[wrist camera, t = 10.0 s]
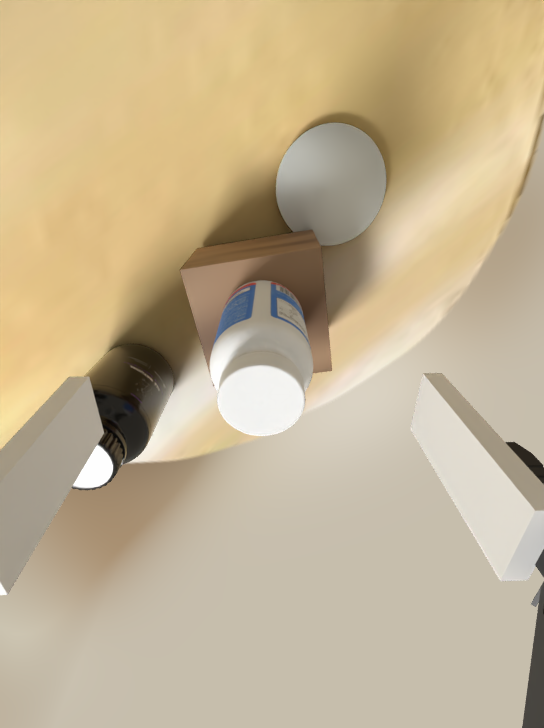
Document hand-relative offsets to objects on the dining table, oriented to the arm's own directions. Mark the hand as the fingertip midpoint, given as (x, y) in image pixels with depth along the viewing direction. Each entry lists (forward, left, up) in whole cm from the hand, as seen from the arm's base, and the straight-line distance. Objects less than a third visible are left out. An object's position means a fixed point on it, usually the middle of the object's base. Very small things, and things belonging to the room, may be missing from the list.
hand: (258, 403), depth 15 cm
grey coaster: (-8, +5, -18) cm, 20 cm away
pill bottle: (0, 0, -11) cm, 11 cm away
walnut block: (0, 0, -17) cm, 17 cm away
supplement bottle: (+8, -11, -18) cm, 23 cm away
